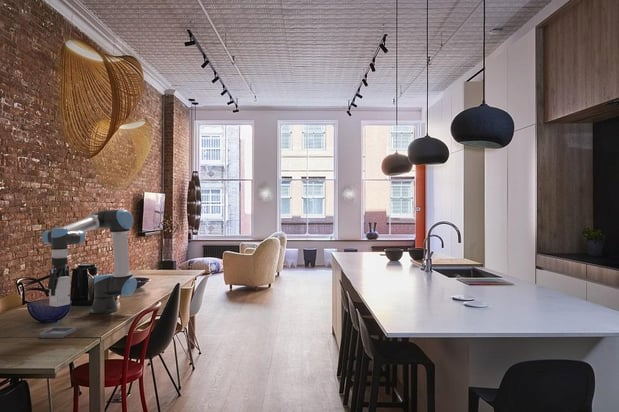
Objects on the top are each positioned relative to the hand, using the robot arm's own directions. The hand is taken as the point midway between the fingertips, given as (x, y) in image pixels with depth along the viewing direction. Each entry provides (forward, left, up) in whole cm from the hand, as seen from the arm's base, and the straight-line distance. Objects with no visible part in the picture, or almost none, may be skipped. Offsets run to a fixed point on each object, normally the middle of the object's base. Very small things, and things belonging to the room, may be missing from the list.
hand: (59, 299), depth 248 cm
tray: (0, -1, -18) cm, 18 cm away
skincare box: (0, 0, -3) cm, 3 cm away
